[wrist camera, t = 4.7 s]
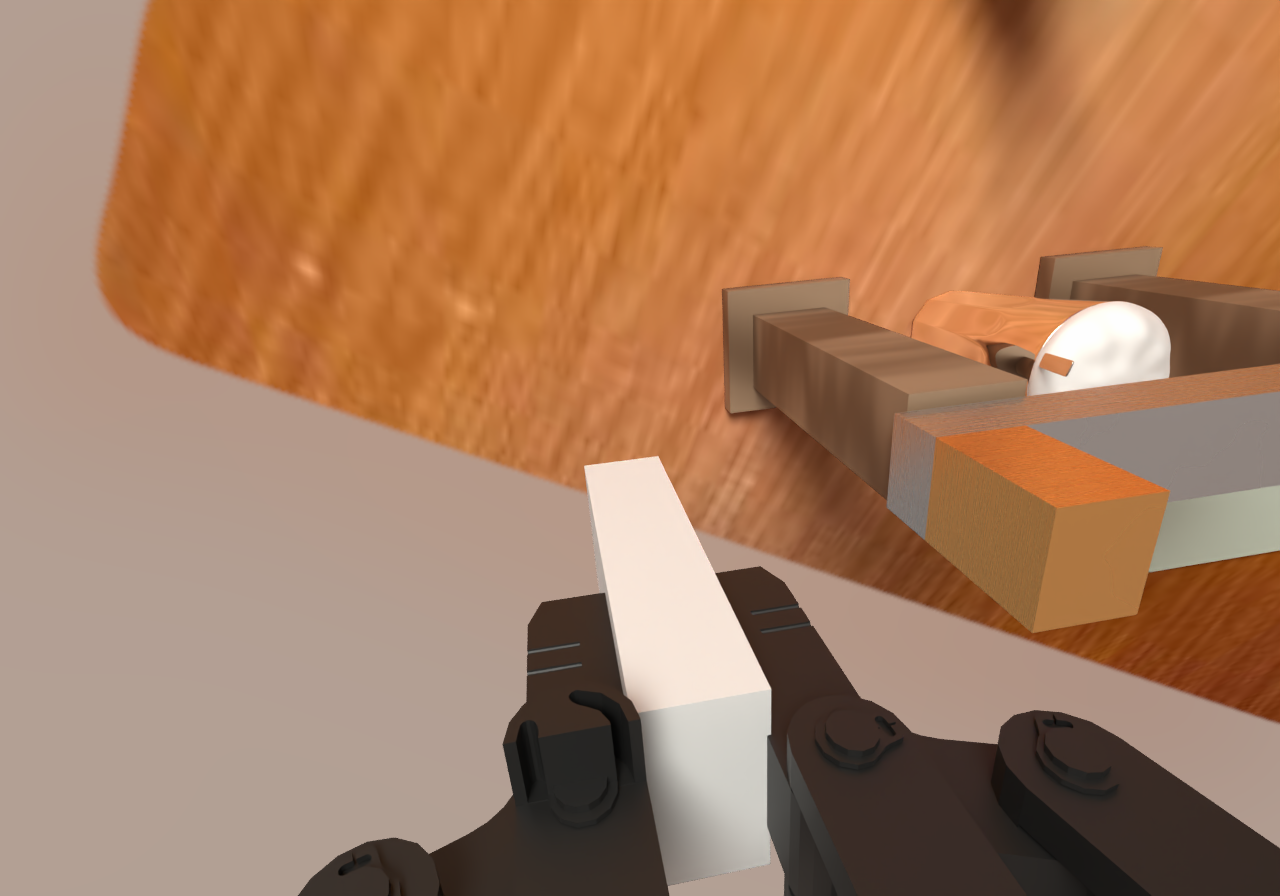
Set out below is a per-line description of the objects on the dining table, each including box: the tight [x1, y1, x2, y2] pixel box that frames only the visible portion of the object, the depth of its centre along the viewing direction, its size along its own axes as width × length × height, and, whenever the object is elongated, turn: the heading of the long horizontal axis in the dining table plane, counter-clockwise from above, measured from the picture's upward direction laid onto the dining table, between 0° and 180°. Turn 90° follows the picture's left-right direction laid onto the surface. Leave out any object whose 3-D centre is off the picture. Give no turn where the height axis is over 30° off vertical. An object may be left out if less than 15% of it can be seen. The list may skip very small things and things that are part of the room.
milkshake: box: [911, 290, 1171, 396], centre depth 22 cm, size 4×5×10 cm
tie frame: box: [722, 246, 1280, 500], centre depth 22 cm, size 5×33×12 cm, turn 94°
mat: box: [1149, 485, 1280, 572], centre depth 32 cm, size 11×11×1 cm
